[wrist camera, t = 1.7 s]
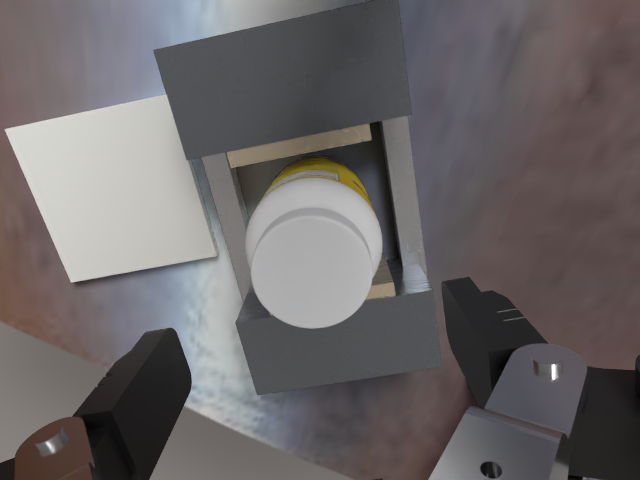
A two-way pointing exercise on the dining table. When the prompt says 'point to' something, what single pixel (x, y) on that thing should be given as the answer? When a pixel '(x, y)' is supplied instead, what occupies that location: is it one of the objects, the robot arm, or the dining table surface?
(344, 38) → the bench vise
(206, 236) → the placing pad
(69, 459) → the robot arm
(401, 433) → the dining table surface
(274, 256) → the pill bottle
